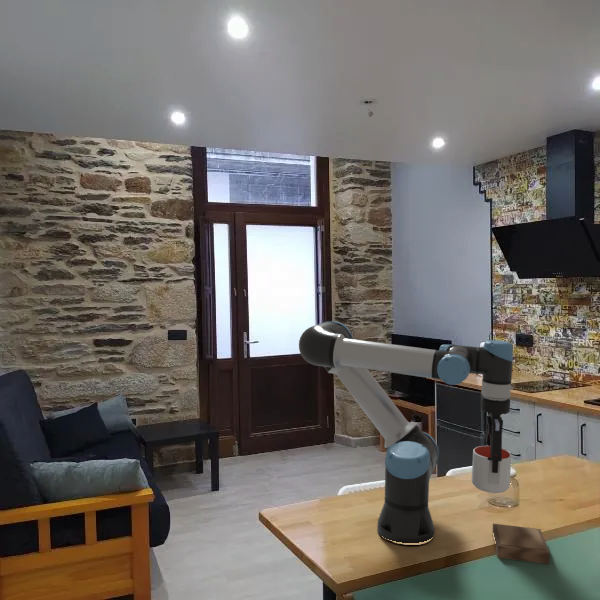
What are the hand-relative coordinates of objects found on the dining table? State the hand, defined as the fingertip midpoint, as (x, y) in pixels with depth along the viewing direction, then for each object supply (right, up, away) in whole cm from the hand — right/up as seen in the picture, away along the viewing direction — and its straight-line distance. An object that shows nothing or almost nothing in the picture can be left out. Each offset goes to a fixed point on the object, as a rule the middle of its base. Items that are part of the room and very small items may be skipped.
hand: (491, 475), depth 155 cm
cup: (0, -4, +1) cm, 4 cm away
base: (+3, -15, -11) cm, 19 cm away
